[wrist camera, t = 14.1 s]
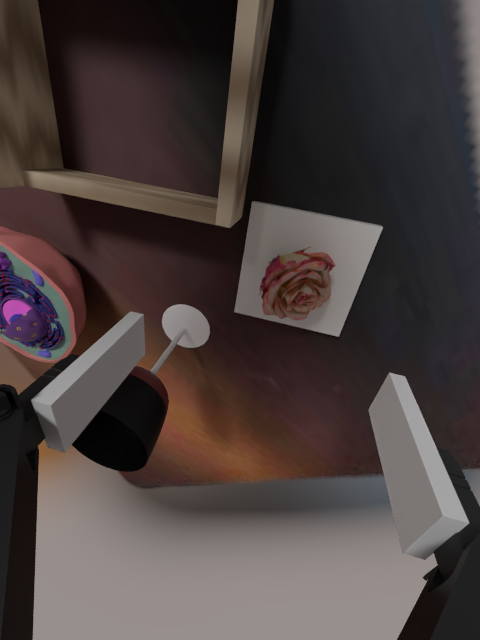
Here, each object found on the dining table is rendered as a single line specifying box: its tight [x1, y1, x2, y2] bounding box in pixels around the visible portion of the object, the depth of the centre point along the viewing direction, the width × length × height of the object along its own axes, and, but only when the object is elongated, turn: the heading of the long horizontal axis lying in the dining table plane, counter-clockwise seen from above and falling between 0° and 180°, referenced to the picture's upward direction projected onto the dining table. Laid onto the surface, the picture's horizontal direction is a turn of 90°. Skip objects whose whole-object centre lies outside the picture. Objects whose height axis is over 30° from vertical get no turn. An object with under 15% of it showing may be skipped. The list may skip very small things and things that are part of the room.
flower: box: [258, 247, 336, 321], centre depth 31 cm, size 9×9×7 cm
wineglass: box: [72, 304, 210, 472], centre depth 34 cm, size 8×9×20 cm
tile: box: [234, 201, 383, 337], centre depth 34 cm, size 14×14×1 cm
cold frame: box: [0, 0, 274, 228], centre depth 25 cm, size 22×24×9 cm
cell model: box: [0, 226, 87, 363], centre depth 38 cm, size 17×20×11 cm
